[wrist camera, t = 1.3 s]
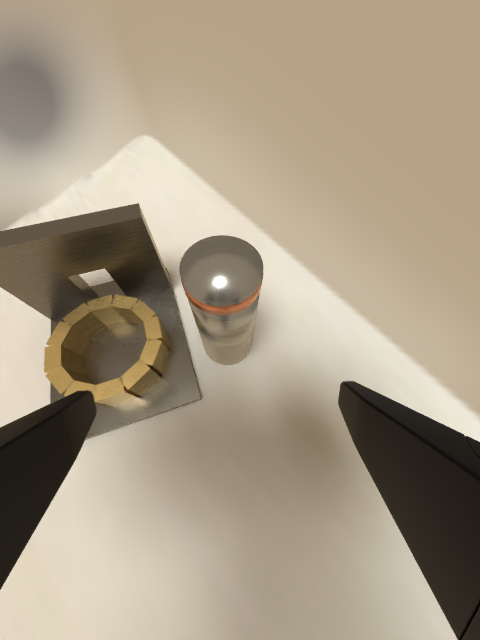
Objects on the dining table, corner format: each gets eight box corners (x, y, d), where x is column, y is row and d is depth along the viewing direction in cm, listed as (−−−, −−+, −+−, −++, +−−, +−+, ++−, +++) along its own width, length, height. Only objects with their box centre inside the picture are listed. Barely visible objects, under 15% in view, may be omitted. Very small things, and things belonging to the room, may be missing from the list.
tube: (250, 366, 22) (263, 304, 12) (201, 363, 22) (171, 300, 12) (251, 322, 24) (264, 237, 14) (206, 319, 24) (185, 232, 14)
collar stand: (201, 399, 21) (177, 371, 12) (55, 450, 19) (-94, 459, 10) (167, 271, 27) (136, 193, 18) (55, 299, 25) (-39, 227, 17)
